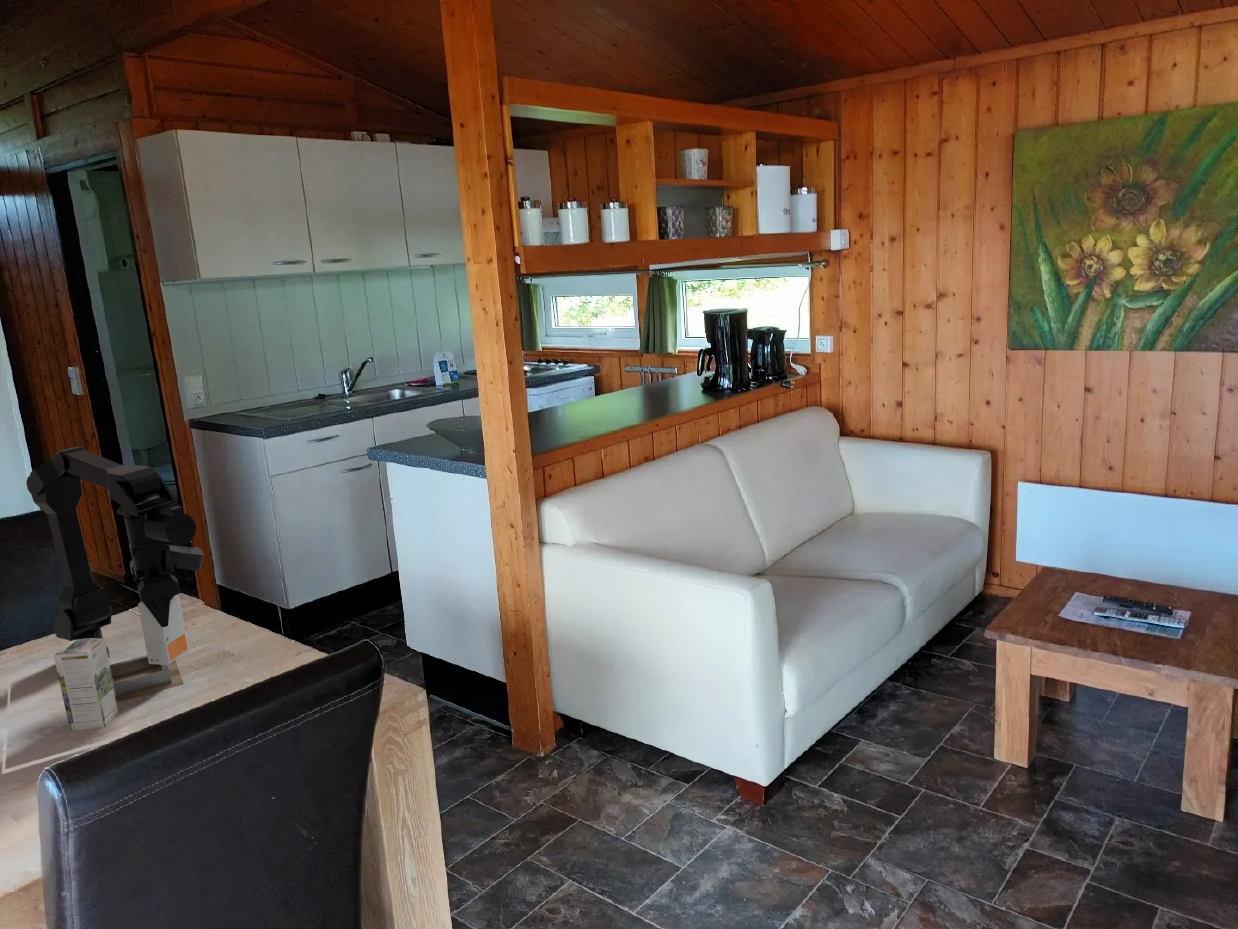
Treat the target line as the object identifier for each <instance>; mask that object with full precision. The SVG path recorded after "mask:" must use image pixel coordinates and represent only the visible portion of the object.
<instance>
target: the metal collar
mask: <svg viewBox="0 0 1238 929" xmlns="http://www.w3.org/2000/svg"><path fill="white" fill-rule="evenodd" d="M156 667H161V670H162V671H159V672H155V673H151V674H148V675H144V676H140V677H136V678H133V679H129V680H125V681H122V682H118V683H114V689H115V694H116V699H117V698H120V697H124V696H128V695H131V694H135V693H138V692H142V691H146V690H149V689H153V688H156V687H160V686H164V685H167V684H171V683H172V681H171V676H170V671H169V668H168V665H161V664H149V662H148V656H147V655H143V656H139V657H135V658H132V659H128V660H124V661H120V662H117V663H112V664H110V669H111V674H112V679H115V678H119V677H123V676H126V675H130V674H134V673H138V672H141V671H145V670H149V669H152V668H156Z"/></svg>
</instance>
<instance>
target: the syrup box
mask: <svg viewBox="0 0 1238 929" xmlns="http://www.w3.org/2000/svg"><path fill="white" fill-rule="evenodd" d="M106 647H107V645H106V640H105V638H104V637H103V638H89V639H79V640H74V641H70V642H68V643H67V644H66V645H65V646H63V647H62V648H61V649H60V650H59V651H58V652H56V654H54V656H53V658H54V663H55V667H56V671H57V676H58V681H59V686H60V690H61V696H62V701H63V704H64V709H65V714H66V717H67V723H68V727H69V731H70V732H72V731H74V732H75V731H82V730H90V729H99V728H105V727H106V726H107V725H108V724H109V723H110V722H111V721H112V719H113V718H114V717H115V716H116V715H117V714H118V713H119V711H120V709H119V704H118V703H119V702H118V703H117V699H116V694H115V689H114V684H113V679H112V674H111V669H110V665H111V663H110V660H109V658H108V654H107V650H106Z"/></svg>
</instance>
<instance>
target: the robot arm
mask: <svg viewBox="0 0 1238 929" xmlns="http://www.w3.org/2000/svg"><path fill="white" fill-rule="evenodd" d="M83 480H84V481H87V482H89V483H91V484H94V485H96V486H99V487H101V488H102V489H105V490H106V491H107V492H108V498H110V499H111V500H112V501H114V502H115V503H117V504H119V505H120V506H119V508H117V510H116V513H117V514H118V515H122V516H123V517H124V523H125V528H126V533H127V538H128V543H129V544H128V546H129V551H130V554H131V561H130V562H129V567H130V570H131V576H132V577H133V580H134V583H135V585H136V586H137V590H138V593H139V598H140V602H143V603H144V605H145V606H146V607H147V608H148V610H149V611H150V612H151V614H152V615H153V616H154V618H155V619H156V620H157V622H158V623H159V624H160V626H161V627H166V626H168V623H169V610H170V601H171V599H172V598H173V597H174V596H175V595H178V594H179V595H180V594H181V588H180V582H179V580H178V578H177V577H176V576H174V575H173V574H172V573H173V572H175V569H184V570H192V572H193V571H194V572H195V571H196V572H199V571H201V568H202V563H203V559H204V555H205V553H204V551H203V550H202V548H200V547H198V546H194V545H193V542H192V541H193V539H194V538H195V535H196V531H197V525H196V521H195V520H194V519H193V517H192V516H191V515H189V514H187V513H184V512H183V507H182V506H180V505H176V504H177V499H176V498H175V497H174V495H175V493H174V492H173V491H172V490H171V488H170V487H169V486H168V485H167V483H166V481H165V480H164V479H163V478H162V476H161V475H160V473H158V471H157V470H156V469H154V468H153V467H151V466H148V465H139V464H138V465H137V464H136V465H133V464H132V465H125V464H121V463H117V462H115V461H114V460H113V461H112V460H110V459H108V458H105V457H103V456H100V455H98V454H96V453H92V452H91V451H88V450H87V448H85V447H84V446H75V447H71V448H67V449H61V450H58V451H57V452H56V453H53V454H52V456H51V457H49V459H47V461H44V462H43V463H42V464H40V465H39V466H38V467H36V468H34V470H32V471H31V472H30V474H29V476H27V478H26V483H25V485H26V488H27V490H28V492H29V494H30V495H31V498H32V501H33V503H34V504H35V505H36V506H37V507H38V508H39V509H41V510H42V511H43V512H44V513H45V514H46V516H47V521H48V524H49V528H50V532H51V536H52V540H53V544H54V549H55V553H56V557H57V561H58V564H59V569H60V574H61V579H62V582H63V587H62V589H61V593H60V595H59V598H58V601H57V602H58V608H59V613H58V615H57V618H56V620H55V622H54V624H53V626H52V629H53V632H54V634H55V637H56V638H58V639H62V640H66V641H69V642H70V641H74V640H79V639H89V638H103V639H104V635H103V631H102V628H103V627H105V626H108V625H111V624H112V609H113V608H112V606H113V605H112V602H111V600H110V596H109V590H108V589H107V588H106V587H102V586H101V585H99V583H97V582H96V581H95V580H94V577H93V574H92V573H93V572H92V570H91V565H90V561H89V556H88V552H87V548H86V544H85V539H84V535H83V531H82V526H81V522H80V519H79V513H78V510H77V509H78V506H79V504H80V502H81V499H82V496H83V492H84V491H83V487H82V486H83V485H82V482H83ZM174 505H175V506H174ZM69 642H68V643H69ZM106 650H107V654H108V659H109V658H110V651H109V647H108V646H106Z"/></svg>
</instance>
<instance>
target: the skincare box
mask: <svg viewBox="0 0 1238 929" xmlns="http://www.w3.org/2000/svg"><path fill="white" fill-rule="evenodd" d="M137 607H138V611H139V617H140V622H141V628H142V634H143V639H144V643H145V644H144V645H145V650H146V651H145V652H146V654H147V656H148V662H149V664H161V665H169V664H170V663H171V662H173V661H174V660H175V661H176V660H177V659H179V658H180V657H182V656H183V655H185V654H186V653H188V652H189V645H188V639H187V634H186V626H185V621H184V616H183V610H182V604H181V597H180V594H178V595H175V596H174V597H173V598H172V599H171V601H170V610H169V623H168V626H166V627H161V626H160V624H159V623H158V622H157V620H156V619H155V618H154V616H153V615H152V614H151V612H150V611H149V610H148V608H147V607H146V606H145V605H144V603H143V602H141V601H140V602H139V603H137Z"/></svg>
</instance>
